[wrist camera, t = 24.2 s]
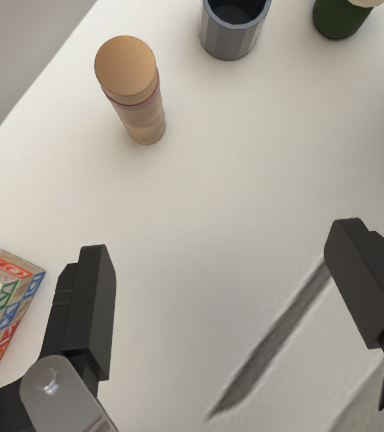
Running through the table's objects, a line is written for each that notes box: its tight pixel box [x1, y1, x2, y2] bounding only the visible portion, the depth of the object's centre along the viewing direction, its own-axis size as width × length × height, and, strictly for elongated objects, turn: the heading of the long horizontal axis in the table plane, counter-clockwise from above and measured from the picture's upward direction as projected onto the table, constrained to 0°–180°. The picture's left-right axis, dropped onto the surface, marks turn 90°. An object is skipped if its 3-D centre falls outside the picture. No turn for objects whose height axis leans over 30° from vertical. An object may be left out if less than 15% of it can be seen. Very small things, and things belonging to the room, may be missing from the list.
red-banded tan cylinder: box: [94, 36, 165, 144], centre depth 32 cm, size 5×5×15 cm
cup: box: [199, 0, 271, 61], centre depth 37 cm, size 7×7×6 cm
